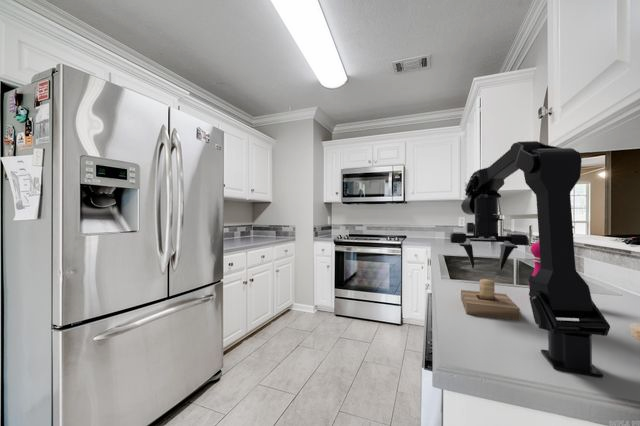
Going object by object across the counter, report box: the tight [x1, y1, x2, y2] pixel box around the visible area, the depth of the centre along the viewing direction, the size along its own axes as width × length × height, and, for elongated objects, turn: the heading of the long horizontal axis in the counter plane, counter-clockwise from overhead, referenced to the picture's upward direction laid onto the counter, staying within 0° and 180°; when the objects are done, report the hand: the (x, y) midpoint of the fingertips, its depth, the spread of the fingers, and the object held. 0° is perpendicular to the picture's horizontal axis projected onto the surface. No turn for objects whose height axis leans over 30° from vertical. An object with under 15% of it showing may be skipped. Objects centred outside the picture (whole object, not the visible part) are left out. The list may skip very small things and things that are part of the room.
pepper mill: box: [528, 241, 541, 288], centre depth 84 cm, size 7×7×20 cm
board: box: [460, 289, 521, 321], centre depth 77 cm, size 14×12×3 cm
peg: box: [479, 278, 495, 301], centre depth 77 cm, size 4×4×8 cm
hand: (486, 268), depth 77 cm, fingers open, 7 cm apart
